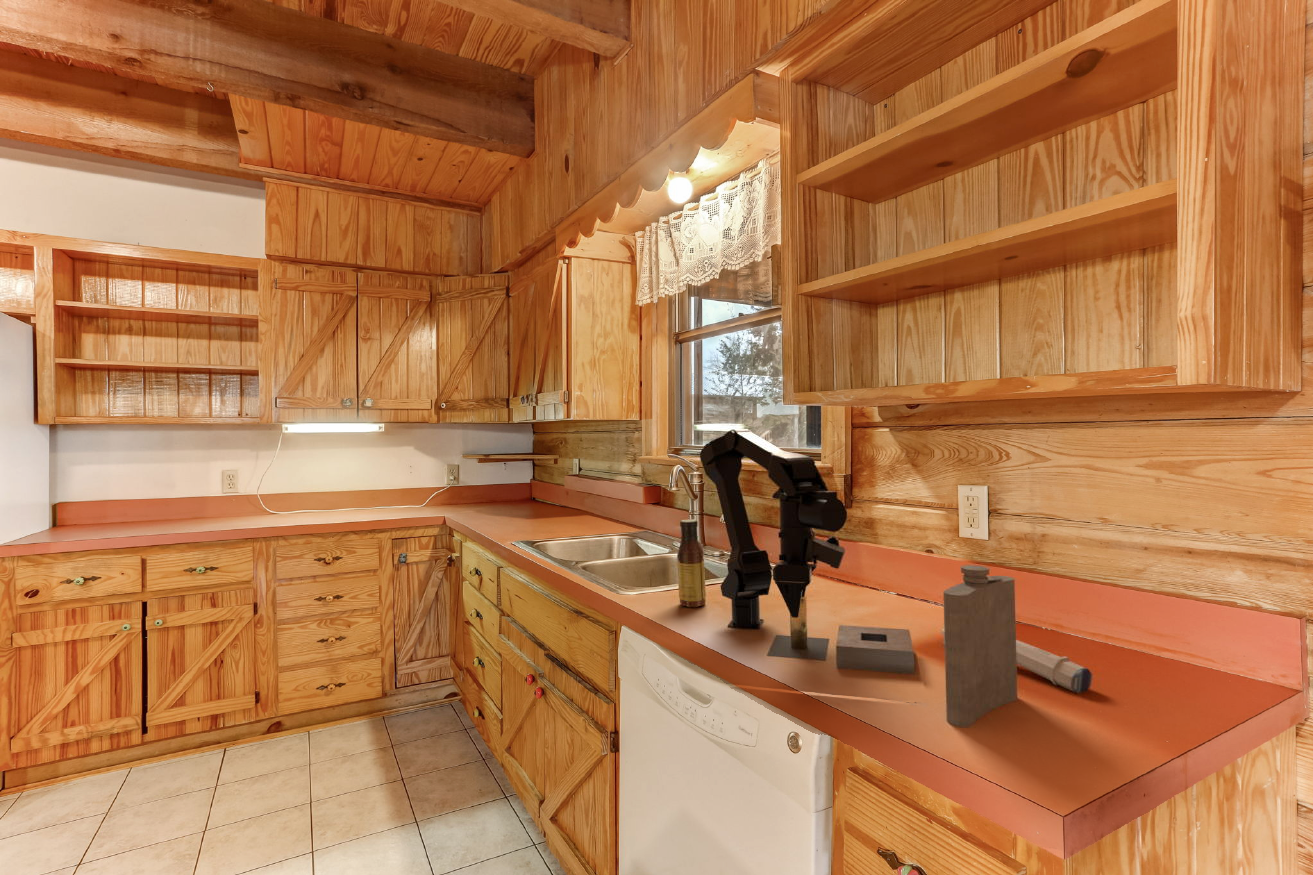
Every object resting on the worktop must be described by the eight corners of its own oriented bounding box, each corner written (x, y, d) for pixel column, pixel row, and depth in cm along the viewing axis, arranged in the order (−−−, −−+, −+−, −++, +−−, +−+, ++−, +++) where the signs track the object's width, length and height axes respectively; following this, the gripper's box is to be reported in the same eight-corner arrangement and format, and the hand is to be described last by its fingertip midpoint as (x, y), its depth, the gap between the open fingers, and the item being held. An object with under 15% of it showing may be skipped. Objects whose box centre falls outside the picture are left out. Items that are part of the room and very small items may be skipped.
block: (839, 646, 118) (839, 624, 118) (909, 652, 114) (909, 629, 114) (836, 669, 106) (836, 645, 106) (914, 676, 102) (913, 651, 102)
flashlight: (1073, 671, 93) (937, 607, 116) (1068, 713, 94) (934, 642, 117) (1096, 665, 96) (958, 603, 118) (1091, 707, 96) (955, 638, 119)
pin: (791, 643, 119) (790, 595, 119) (808, 644, 118) (807, 596, 118) (789, 648, 116) (788, 599, 116) (806, 650, 115) (805, 600, 115)
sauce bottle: (692, 600, 154) (690, 517, 154) (711, 604, 149) (709, 519, 149) (672, 605, 149) (670, 520, 149) (692, 610, 145) (689, 522, 145)
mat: (776, 636, 124) (776, 634, 124) (829, 640, 121) (829, 638, 121) (766, 657, 113) (766, 655, 113) (825, 662, 110) (825, 660, 110)
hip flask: (964, 729, 84) (961, 577, 84) (935, 719, 87) (932, 572, 87) (1021, 697, 94) (1018, 561, 94) (993, 689, 97) (989, 557, 97)
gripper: (839, 534, 106) (841, 628, 106) (843, 519, 123) (845, 599, 123) (771, 532, 109) (773, 623, 109) (785, 517, 127) (786, 596, 127)
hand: (797, 610), depth 117 cm, fingers open, 9 cm apart
